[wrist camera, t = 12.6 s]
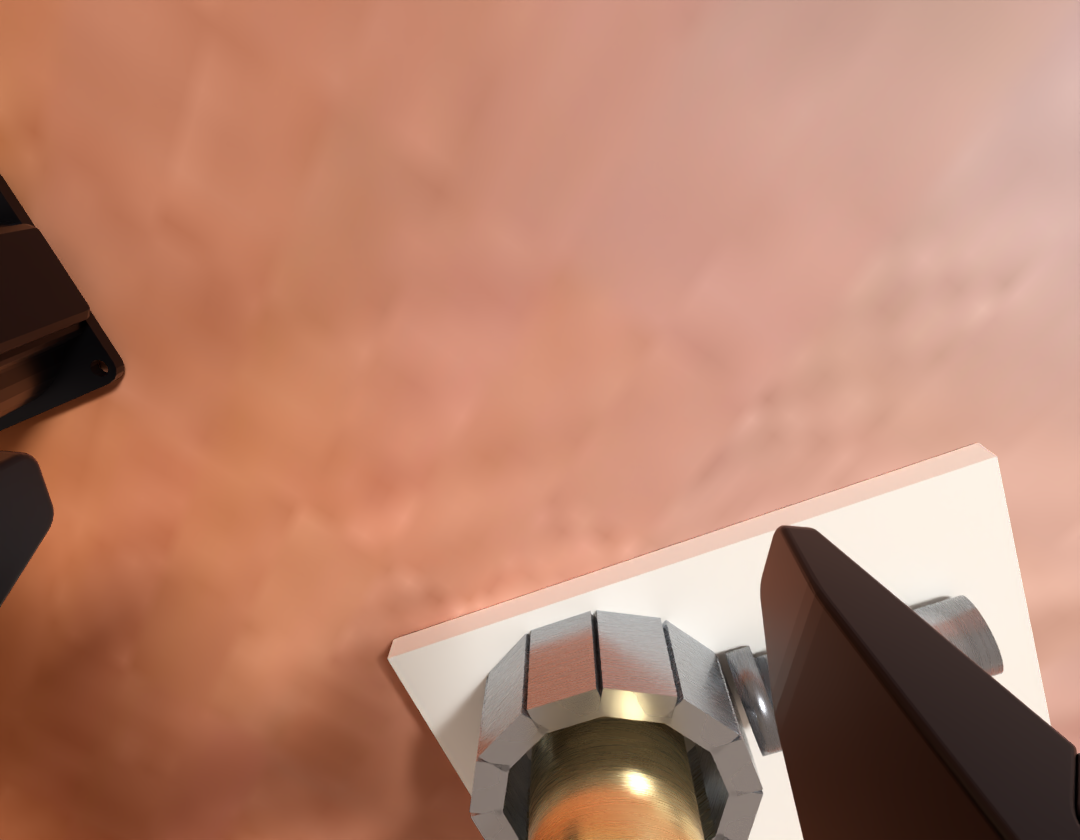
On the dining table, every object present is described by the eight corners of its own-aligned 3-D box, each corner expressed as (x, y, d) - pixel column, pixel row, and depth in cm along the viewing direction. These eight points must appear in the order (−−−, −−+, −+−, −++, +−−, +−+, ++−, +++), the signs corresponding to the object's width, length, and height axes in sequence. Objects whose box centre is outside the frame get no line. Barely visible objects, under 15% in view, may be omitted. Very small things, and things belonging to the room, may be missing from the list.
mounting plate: (585, 959, 31) (586, 984, 30) (393, 639, 25) (387, 658, 24) (1061, 843, 28) (1079, 867, 27) (978, 442, 22) (997, 456, 21)
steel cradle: (610, 943, 30) (618, 1055, 26) (443, 651, 24) (423, 742, 21) (1012, 844, 27) (1081, 954, 24) (925, 492, 22) (999, 564, 18)
